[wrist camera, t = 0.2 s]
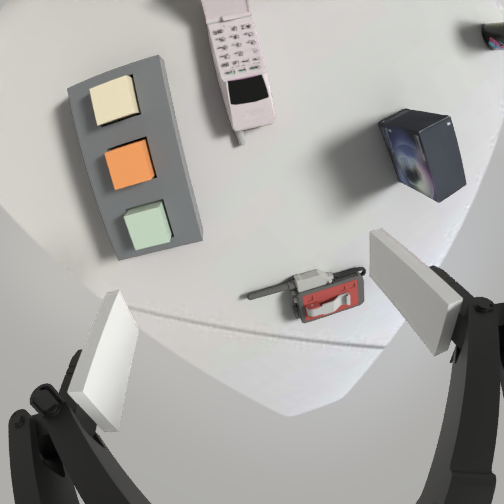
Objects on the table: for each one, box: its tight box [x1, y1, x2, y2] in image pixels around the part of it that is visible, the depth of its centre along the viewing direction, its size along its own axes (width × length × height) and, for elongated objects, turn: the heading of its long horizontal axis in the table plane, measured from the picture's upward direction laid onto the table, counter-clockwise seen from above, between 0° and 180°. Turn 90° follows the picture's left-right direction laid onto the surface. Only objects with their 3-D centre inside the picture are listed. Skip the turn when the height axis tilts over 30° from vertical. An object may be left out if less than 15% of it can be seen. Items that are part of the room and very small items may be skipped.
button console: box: [67, 55, 203, 261], centre depth 35 cm, size 24×12×4 cm, turn 11°
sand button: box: [89, 75, 141, 126], centre depth 29 cm, size 5×5×4 cm
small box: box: [378, 109, 466, 203], centre depth 36 cm, size 11×6×10 cm, turn 31°
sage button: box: [124, 199, 173, 250], centre depth 37 cm, size 5×5×4 cm
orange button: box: [104, 138, 156, 190], centre depth 33 cm, size 5×5×4 cm
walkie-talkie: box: [247, 267, 366, 323], centre depth 48 cm, size 9×4×20 cm
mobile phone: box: [201, 0, 275, 145], centre depth 30 cm, size 6×6×25 cm
